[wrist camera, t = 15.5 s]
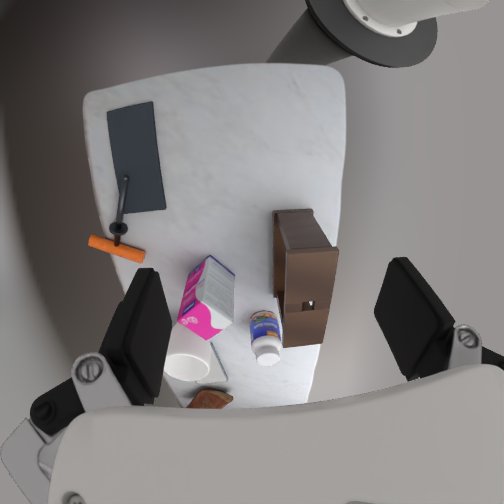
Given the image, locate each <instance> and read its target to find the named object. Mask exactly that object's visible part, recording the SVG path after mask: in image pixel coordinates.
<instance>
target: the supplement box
mask: <svg viewBox="0 0 504 504" xmlns="http://www.w3.org/2000/svg"><path fill="white" fill-rule="evenodd" d="M234 276H235V275H234V274H233V273H232V272H231V271H229V270H228V269H227V268H226V267H224V266H223V265H222V264H221V263H219V262H218V261H217V260H216V259H215V258H213V257H212V256H211V255H210V256H208V257H207V258H206V260H205V261H204V262H202V263H201V264H200V265H199V266H198V267H197V268H196V269H195V270H194V271H192V272H191V273H190V274H189V275H188V279H187V282H186V286H185V290H184V294H183V298H182V302H181V306H180V310H179V315H178V318H177V322H179V323H180V324H182V325H183V326H185V327H186V328H188V329H189V330H191V331H193V332H194V333H196V334H197V335H199V336H200V337H202V338H203V339H205V340H206V341H207V340H208V339H210V338H212V337H213V336H214V335H216V334H218V333H219V332H220V331H222V330H223V329H225V328H226V327H228V326H229V325H230V324H232V323H233V309H234Z"/></svg>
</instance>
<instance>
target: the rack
mask: <svg viewBox="0 0 504 504" xmlns="http://www.w3.org/2000/svg"><path fill="white" fill-rule="evenodd" d="M338 255H339V250H338V248H337V247H332V245H331V244H330V242H329V241H328V239H327V237H326V236H325V234H324V232H323V231H322V229H321V228H320V226H319V224H318V223H317V221H316V220H315V218H314V217H313V210H312V209H298V210H276V211H273V297H274V298H277V303H278V308H279V313H280V318H281V323H282V328H283V335H282V346H283V348H288V347H297V346H305V345H313V344H321V343H323V338H324V334H325V329H326V324H327V319H328V314H329V309H330V303H331V298H332V292H333V286H334V281H335V274H336V268H337V261H338ZM309 301H313V303H312V305H311V306H310V303H309Z"/></svg>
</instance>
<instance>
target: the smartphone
mask: <svg viewBox="0 0 504 504" xmlns="http://www.w3.org/2000/svg"><path fill="white" fill-rule="evenodd" d="M210 345H211V359H210V371H209V373H208V375H207V376H206V377H204V378H202V379H200V380H195V382H196V383H197V384H207V383H219V382H226V381H228V378H227V376H226V373H225V371H224V369H223V367H222V365H221V362H220V360H219V358H218V356H217V353H216V351H215V349H214V347H213V344H212V343H210Z"/></svg>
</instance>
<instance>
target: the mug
mask: <svg viewBox="0 0 504 504" xmlns="http://www.w3.org/2000/svg"><path fill="white" fill-rule="evenodd" d="M210 359H211V345H210V340H209V339H208V340H207V341H206V340H205V339H203V338H202V337H200V336H199V335H197V334H196V333H194V332H193V331H191V330H189V329H188V328H186V327H185V326H183V325H182V324H180V323H179V322H177V323H176V325H175V326H174V327H173V328H172V331H171V336H170V340H169V345H168V350H167V355H166V360H165V365H164V371H165V372H166V373H167V374H169V375H170V376H172V377H174V378H177V379H180V380H185V381H195V380H200V379H202V378H204V377H206V376H207V375H208V373H209V371H210Z"/></svg>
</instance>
